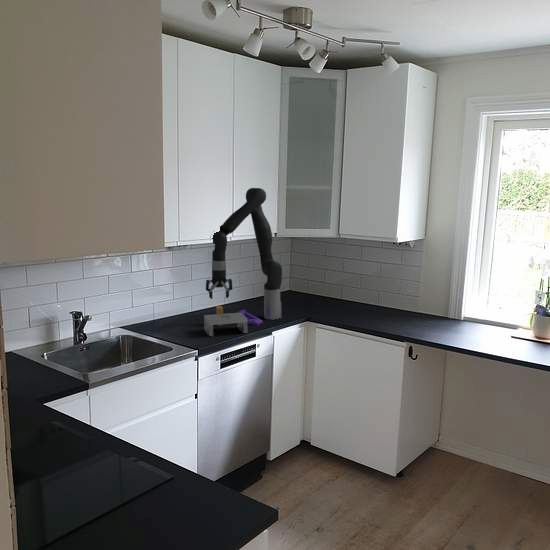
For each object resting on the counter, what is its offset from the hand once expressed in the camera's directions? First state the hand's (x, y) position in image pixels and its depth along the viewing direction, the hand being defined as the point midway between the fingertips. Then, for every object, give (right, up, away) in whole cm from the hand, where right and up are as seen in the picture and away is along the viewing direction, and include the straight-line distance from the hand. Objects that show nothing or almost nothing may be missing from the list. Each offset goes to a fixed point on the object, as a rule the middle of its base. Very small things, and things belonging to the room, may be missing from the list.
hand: (219, 298), depth 302 cm
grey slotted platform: (+5, -17, -12) cm, 21 cm away
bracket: (+17, -15, +6) cm, 23 cm away
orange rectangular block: (0, -15, +3) cm, 15 cm away
